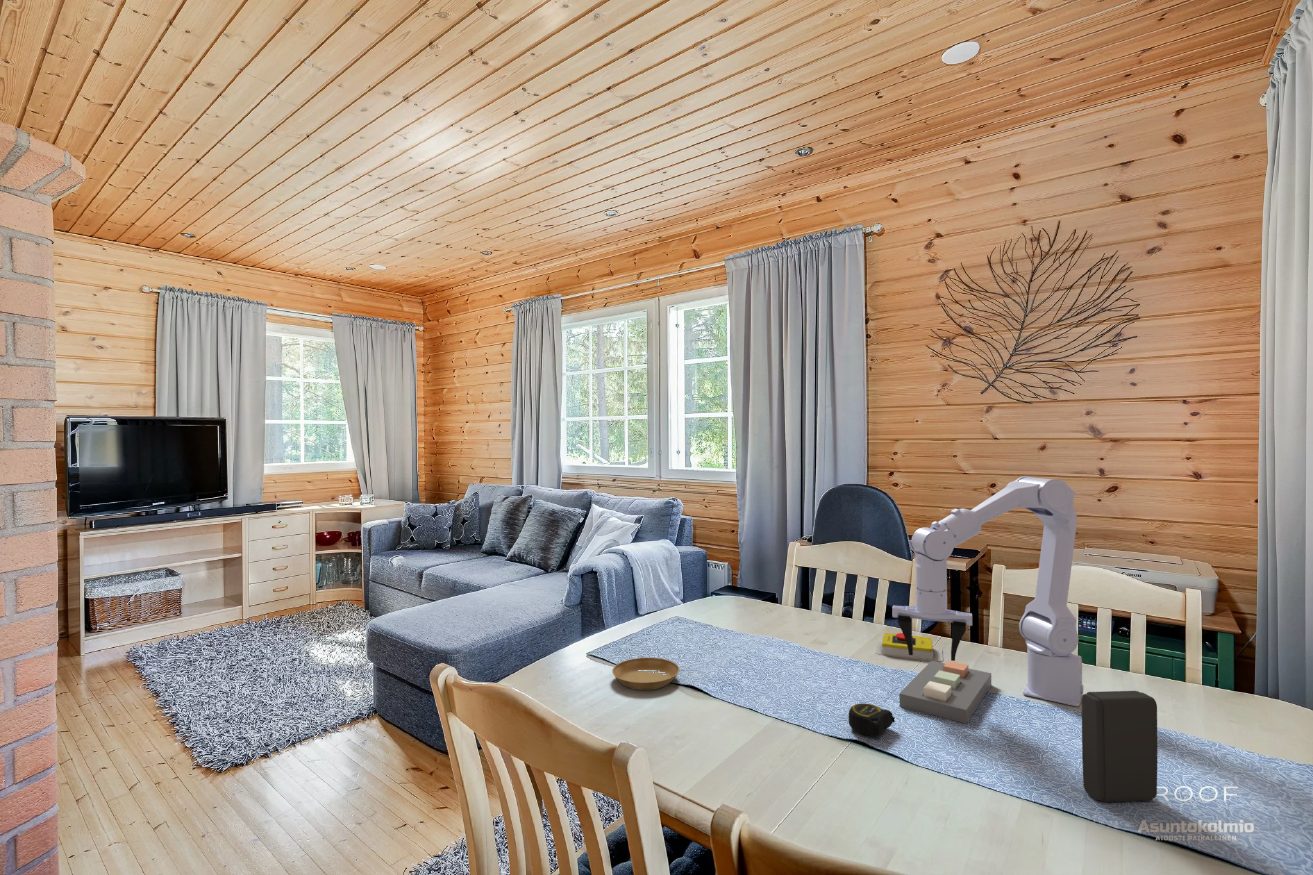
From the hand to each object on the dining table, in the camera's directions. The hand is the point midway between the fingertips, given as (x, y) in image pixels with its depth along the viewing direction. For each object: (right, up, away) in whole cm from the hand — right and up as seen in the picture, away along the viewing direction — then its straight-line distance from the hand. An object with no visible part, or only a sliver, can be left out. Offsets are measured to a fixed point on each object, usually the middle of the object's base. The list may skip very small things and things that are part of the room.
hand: (931, 656), depth 124 cm
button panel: (+4, -9, +2) cm, 10 cm away
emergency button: (+7, -9, +27) cm, 30 cm away
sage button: (+4, -7, +2) cm, 8 cm away
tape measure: (-16, -9, -12) cm, 22 cm away
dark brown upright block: (+13, -9, -33) cm, 37 cm away
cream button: (0, -7, -3) cm, 8 cm away
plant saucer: (-57, -10, +12) cm, 59 cm away
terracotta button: (+8, -7, +7) cm, 13 cm away
